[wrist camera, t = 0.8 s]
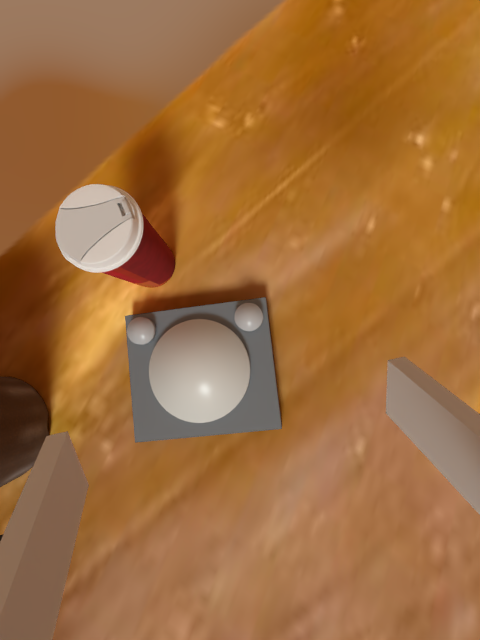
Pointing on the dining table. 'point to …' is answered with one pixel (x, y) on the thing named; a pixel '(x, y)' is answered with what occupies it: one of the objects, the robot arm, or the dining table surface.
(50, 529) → the robot arm
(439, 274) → the dining table surface
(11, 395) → the plant pot
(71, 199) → the paper cup
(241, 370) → the grey flat block
